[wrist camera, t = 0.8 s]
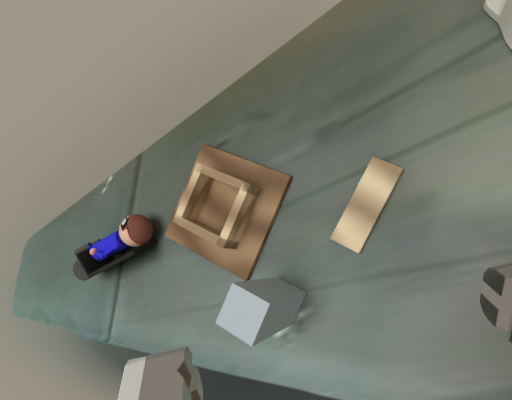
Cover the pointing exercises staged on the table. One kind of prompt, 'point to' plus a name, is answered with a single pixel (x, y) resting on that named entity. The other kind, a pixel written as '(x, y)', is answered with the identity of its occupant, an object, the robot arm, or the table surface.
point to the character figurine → (113, 247)
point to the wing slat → (366, 204)
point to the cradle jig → (228, 209)
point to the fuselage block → (260, 308)
